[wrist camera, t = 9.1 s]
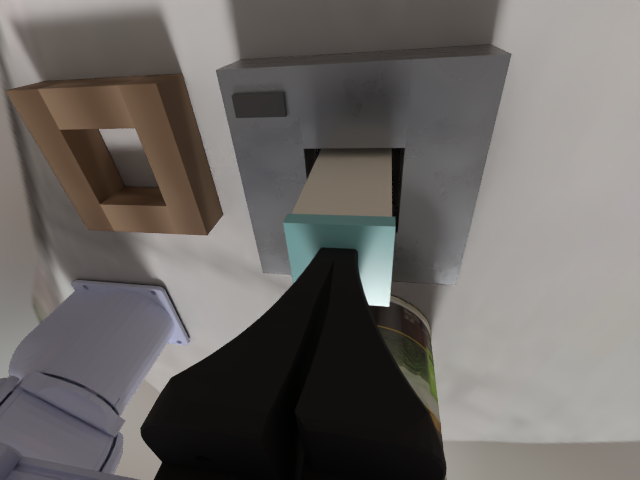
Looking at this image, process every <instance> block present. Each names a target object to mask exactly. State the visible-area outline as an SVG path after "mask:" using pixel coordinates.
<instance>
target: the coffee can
mask: <svg viewBox="0 0 640 480" xmlns="http://www.w3.org/2000/svg"><path fill="white" fill-rule="evenodd" d="M369 307H370V310H371V313H372V315H373V317H374V320H375V322H376V324H377V327H378V329H379V331H380V333H381V335H382V337H383V339H384V341H385V343H386V345H387V347H388V349H389V350H390V352H391V354H392V356H393V357H394V359H395V361H396V362H397V364H398V366H399V368H400V369H401V371H402V373H403V374H404V376H405V377H406V379H407V380H408V382H409V383H410V385H411V386H412V388H413V389H414V391H415V392H416V394H417V395H418V397H419V398H420V399H421V401H422V402H423V403H424V405H425V406H426V408H427V409H428V410H429V412H430V415H431V418H432V420H433V423H434V425H435V428H436V430H437V433H438V436H439V439H440V442H441V445H442V448H443V442H442V434H441V423H440V416H439V408H438V399H437V390H436V382H435V373H434V363H433V355H432V346H431V330H430V326H429V324H428V322H427V320H426V319H425V317H424V316H423V315H422V314H421V313H420V312H419V311H418V310H417V309H416V308H415V307H414V306H412V305H411V304H409V303H407V302H405V301H403V300H402V299H399V298H397V297H395V296H392V295H390V305H389V307H386V306H373V305H369ZM444 480H447V478H446V476H445V478H444Z"/></svg>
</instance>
